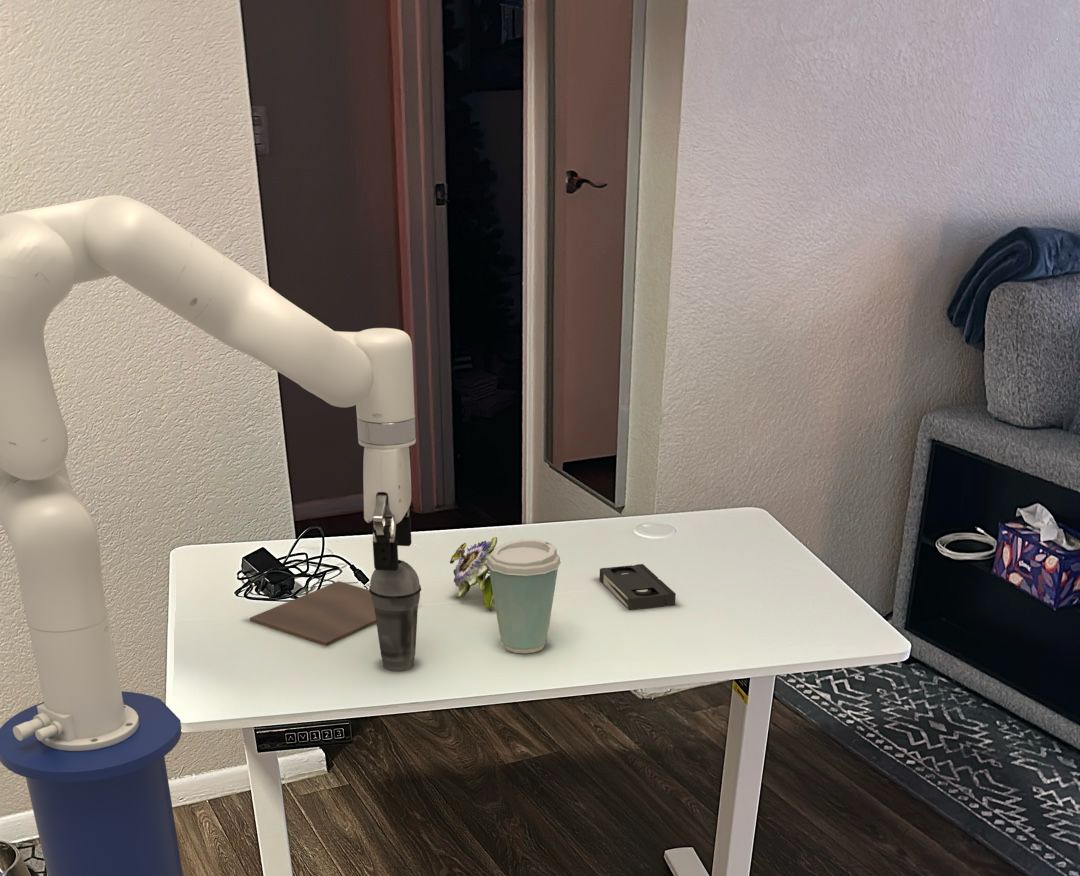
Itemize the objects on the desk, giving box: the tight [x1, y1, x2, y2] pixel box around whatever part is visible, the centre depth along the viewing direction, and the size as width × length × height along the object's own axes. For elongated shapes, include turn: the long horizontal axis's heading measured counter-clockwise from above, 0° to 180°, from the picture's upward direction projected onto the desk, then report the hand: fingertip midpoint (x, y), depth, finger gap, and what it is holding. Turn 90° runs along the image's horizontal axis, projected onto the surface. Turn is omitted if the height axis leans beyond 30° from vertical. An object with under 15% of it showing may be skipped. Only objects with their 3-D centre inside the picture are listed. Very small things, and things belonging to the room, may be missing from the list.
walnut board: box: [249, 580, 377, 647], centre depth 200 cm, size 20×16×1 cm
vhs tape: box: [598, 563, 677, 611], centre depth 210 cm, size 14×8×2 cm, turn 18°
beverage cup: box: [368, 527, 422, 672], centre depth 179 cm, size 7×7×20 cm
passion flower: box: [449, 536, 498, 612], centre depth 205 cm, size 11×11×12 cm
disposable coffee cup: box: [487, 538, 561, 654], centre depth 187 cm, size 11×11×15 cm
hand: (393, 557), depth 176 cm, fingers open, 9 cm apart
